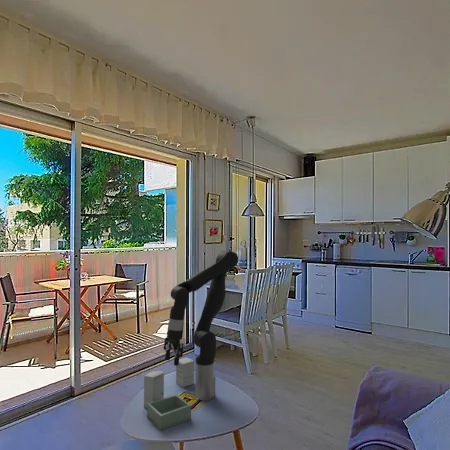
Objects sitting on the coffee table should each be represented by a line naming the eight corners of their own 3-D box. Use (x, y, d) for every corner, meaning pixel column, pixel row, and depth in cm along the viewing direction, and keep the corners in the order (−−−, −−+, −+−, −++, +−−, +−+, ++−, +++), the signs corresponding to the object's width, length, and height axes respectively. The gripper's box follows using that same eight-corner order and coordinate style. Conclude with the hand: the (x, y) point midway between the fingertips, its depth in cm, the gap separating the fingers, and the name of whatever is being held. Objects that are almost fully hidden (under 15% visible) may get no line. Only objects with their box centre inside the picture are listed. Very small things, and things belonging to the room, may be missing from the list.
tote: (176, 407, 164) (176, 394, 164) (190, 418, 153) (191, 405, 153) (146, 417, 154) (147, 403, 155) (160, 430, 144) (160, 416, 144)
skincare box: (152, 410, 161) (153, 378, 161) (142, 406, 164) (143, 375, 164) (164, 402, 168) (164, 371, 168) (154, 399, 171) (155, 369, 171)
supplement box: (186, 379, 194) (187, 356, 195) (194, 383, 189) (194, 360, 189) (175, 383, 190) (175, 359, 190) (182, 387, 184) (183, 363, 184)
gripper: (189, 331, 164) (185, 366, 163) (174, 324, 176) (171, 357, 174) (176, 331, 160) (172, 368, 158) (161, 325, 171) (157, 359, 169)
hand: (171, 362), depth 166 cm, fingers open, 8 cm apart
